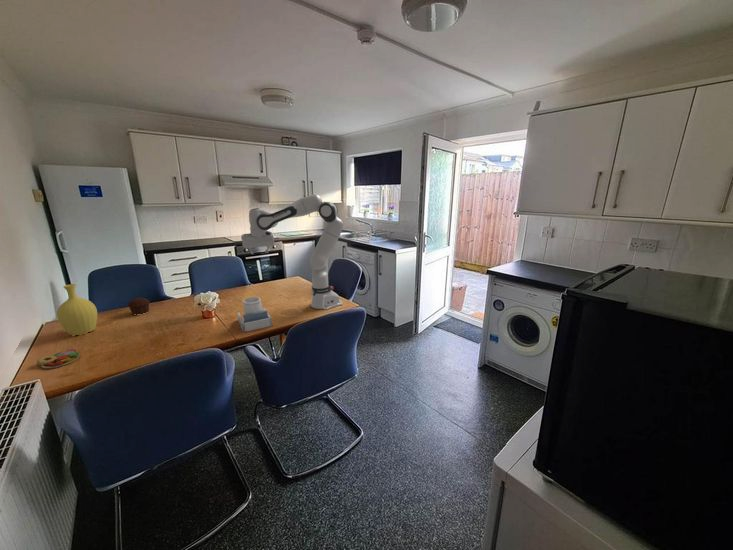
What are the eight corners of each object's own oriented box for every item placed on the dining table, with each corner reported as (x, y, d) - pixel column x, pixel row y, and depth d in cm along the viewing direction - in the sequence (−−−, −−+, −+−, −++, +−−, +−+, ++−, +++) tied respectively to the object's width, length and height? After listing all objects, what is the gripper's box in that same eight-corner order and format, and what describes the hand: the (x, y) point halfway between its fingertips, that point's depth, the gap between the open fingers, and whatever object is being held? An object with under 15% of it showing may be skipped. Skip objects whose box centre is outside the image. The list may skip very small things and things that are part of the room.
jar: (259, 326, 174) (257, 303, 170) (242, 326, 174) (239, 303, 170) (265, 319, 184) (263, 296, 180) (249, 319, 184) (246, 296, 180)
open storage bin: (265, 314, 191) (264, 307, 189) (272, 325, 175) (271, 318, 174) (238, 320, 183) (237, 312, 181) (243, 332, 167) (242, 324, 166)
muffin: (130, 317, 186) (126, 303, 183) (128, 312, 194) (125, 298, 191) (152, 313, 193) (149, 298, 191) (150, 308, 201) (147, 294, 199)
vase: (71, 328, 171) (57, 282, 164) (106, 323, 177) (94, 279, 170) (56, 340, 157) (41, 291, 149) (94, 335, 163) (81, 287, 155)
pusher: (267, 322, 178) (266, 310, 176) (268, 323, 177) (267, 311, 175) (244, 327, 172) (243, 314, 170) (245, 328, 170) (243, 316, 168)
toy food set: (34, 366, 135) (32, 360, 134) (70, 352, 146) (69, 346, 146) (51, 372, 130) (48, 366, 129) (87, 357, 142) (85, 351, 141)
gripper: (241, 234, 187) (244, 255, 190) (274, 232, 197) (275, 252, 201) (240, 233, 192) (242, 254, 196) (271, 231, 202) (273, 251, 206)
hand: (259, 253), depth 198 cm, fingers open, 8 cm apart
